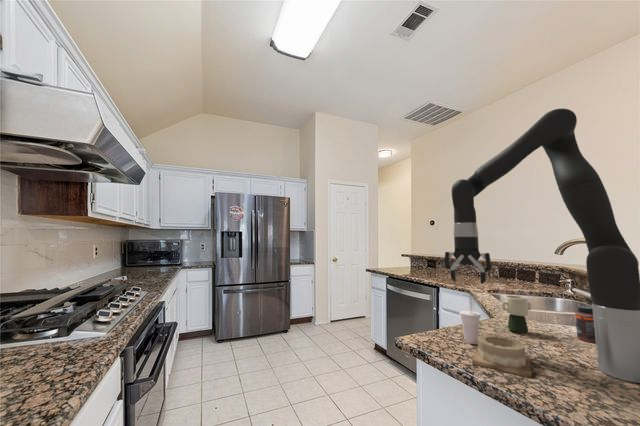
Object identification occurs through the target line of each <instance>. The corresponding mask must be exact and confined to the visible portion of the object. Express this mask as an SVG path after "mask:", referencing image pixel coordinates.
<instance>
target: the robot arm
mask: <svg viewBox="0 0 640 426" xmlns="http://www.w3.org/2000/svg"><path fill="white" fill-rule="evenodd" d="M577 121H578V118H577V115H576V113H575V112H574V111H573V110H571V109H567V108H555V109H552V110H550V111H548V112H546V113H545V114H543V115H542V116H541V117H540V118H539V119H538V120H537V121H536V122H535V123H534V124H533V125H532V126H530V128H528V130H526V131H525V132H524V133H523V134H522V135H520V136H519V137H518V138H517V139H516V140H514V141H513V142H512V143H511V144H509V145H508V146H507V147H506V148H504V149H503V150H501V151H500V152H499V153H498V154H497V155H495V156H493V157H492V158H491V159H489V160H488V161H486V162H485V163H484V164H482V165H481V166H479V167H478V168H477V169H476V170H475V171H474V173H473V174H472V175H471V176H469V177H468V178H466V179H459V180H456V181H455V182H454V183H453V184H452V187H451V199H452V206H453V219H454V220H453V223H454V226H453V240H454V251H453V252H452V251H445V253H444V268H445V269H448V270H450V279H451V280H452V281H453V282H457V271H456V269H457V267H458V266H459V265H460V264H461V265H469V266H473V265H474V266H475V267H476V268H477V269H478V270H479V272H480V273H479V275H480V276H479V277H480V284H481V285H484V283H485V282H486V281H487V275H486V274H487V272H491V270H492V262H491V256H490V255H491V254H490V252H485V253H483V252H482V253H481V252H480V249H479V232H478V230H479V228H478V224H477V211H476V209H475V197H477V195H479V194H481V192H483V191H484V190H485V189H486V188H488V186H490V185H492V184H494V183H495V182H497V181H498V180H500V179H501V178H502V177H504V176H506V175H507V174H509V172H511V171H512V170H514V169H515V168H516V167H517V166H518V165H519V164H520V163H521V162H522V161H523V160H525V159H526V158H527V157H528V156H529V155H531V154H532V153H533V152H535V151H537V149H539V148H541V147H542V149H543V150H544V152H545V154H546V155H547V157H548V159H549V161H550V164H551V166H552V167H551V168H552V171H553V175H554V179H555V182H556V185H557V187H558V191H559V193H560V196H561V198H562V200H563V202H564V204H565V207H566V208H567V210H568V212H569V213H570V215H571V217H572V219H573V220H574V221H575V223H576V225H577V226H578V227H579V229H580V231H581V234H582V235H583V237H584V241H585V244H586V246H587V251H588V254H587V256H586V260H585V262H586V263H585V264H586V274H587V282H588V289H589V294H590V298H591V307H592V308H593V317H594V327H595V337H596V343H595V344H596V346H595V347H596V355H597V364H598V365H597V366H598V370H599V371H601V372H602V373H604V374H606V375H608V376H610V377H614V378H616V379H619V380H622V381H626V382H631V383H637V384H640V271H639V260H638V258H637V257H636V255H635V253H634V252H633V251H632V249H631V248H630V246H629V244H628V243H627V242H626V239H624V237H623V234H622V233H621V231H620V230H619V227H618V224H617V222H616V217H615V214H614V211H613V208H612V204H611V201H610V198H609V195H608V193H607V192H608V191H607V190H606V187H605V185H604V182H603V181H602V179H601V177H600V175H599V174H598V172H597V170H596V169H595V168H594V167H593V166H592V165H591V163H590V162H589V161H588V160H587V159H586V158H585V157H584V156H583V154H582V152H581V151H580V148H579V145H578V142H577V139H576V135H575V129H576V127H577V123H578V122H577ZM453 257H454V258H455V259H456V260H455V261H454V262H453V264H452V265H450V263H451V258H453ZM480 258H482V259H483V260H485V265H486V267H484V266H483V265H482V263H480V262H479V259H480Z"/></svg>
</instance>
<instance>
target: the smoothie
mask: <svg viewBox="0 0 640 426" xmlns="http://www.w3.org/2000/svg"><path fill="white" fill-rule="evenodd" d="M469 308H470V309H469V310H461V311H459V316H460V320H461V324H462V330H463V337H464V341H465V342H466V343H467V344H471V345H478V342H477V339H478V336H479V331H480V328H479V327H480V319H481V314H480V312H477V311H473V301H472V299H470V300H469Z"/></svg>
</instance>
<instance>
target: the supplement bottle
mask: <svg viewBox="0 0 640 426" xmlns="http://www.w3.org/2000/svg"><path fill="white" fill-rule="evenodd" d="M574 321H575V328H576V329H575V330H576V337H577V339H579V340H580V341H583V342H587V343H593V344H594V343H595V344H596V337H595V327H594V317H593V308H592V306H587V305H577V311H576V312H575V313H574Z"/></svg>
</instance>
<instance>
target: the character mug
mask: <svg viewBox="0 0 640 426" xmlns="http://www.w3.org/2000/svg"><path fill="white" fill-rule="evenodd" d="M531 308H532V307H531V302H530V301H528V298H527V297H526V296H521V295H512V294H511V295H510V294H509V295H508V294H507V295H504V301H502V302H501V309H502V311H505V312H506V313H507V314H509V315H508V321H507V322H508V323H507V329H508V330H511V331H513V332H514V331H515V333H517V332H518V333H522V334H527V333H528V332H529V327H528V323H527V320H526V317H525V316H529V311H531V310H532V309H531Z"/></svg>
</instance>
